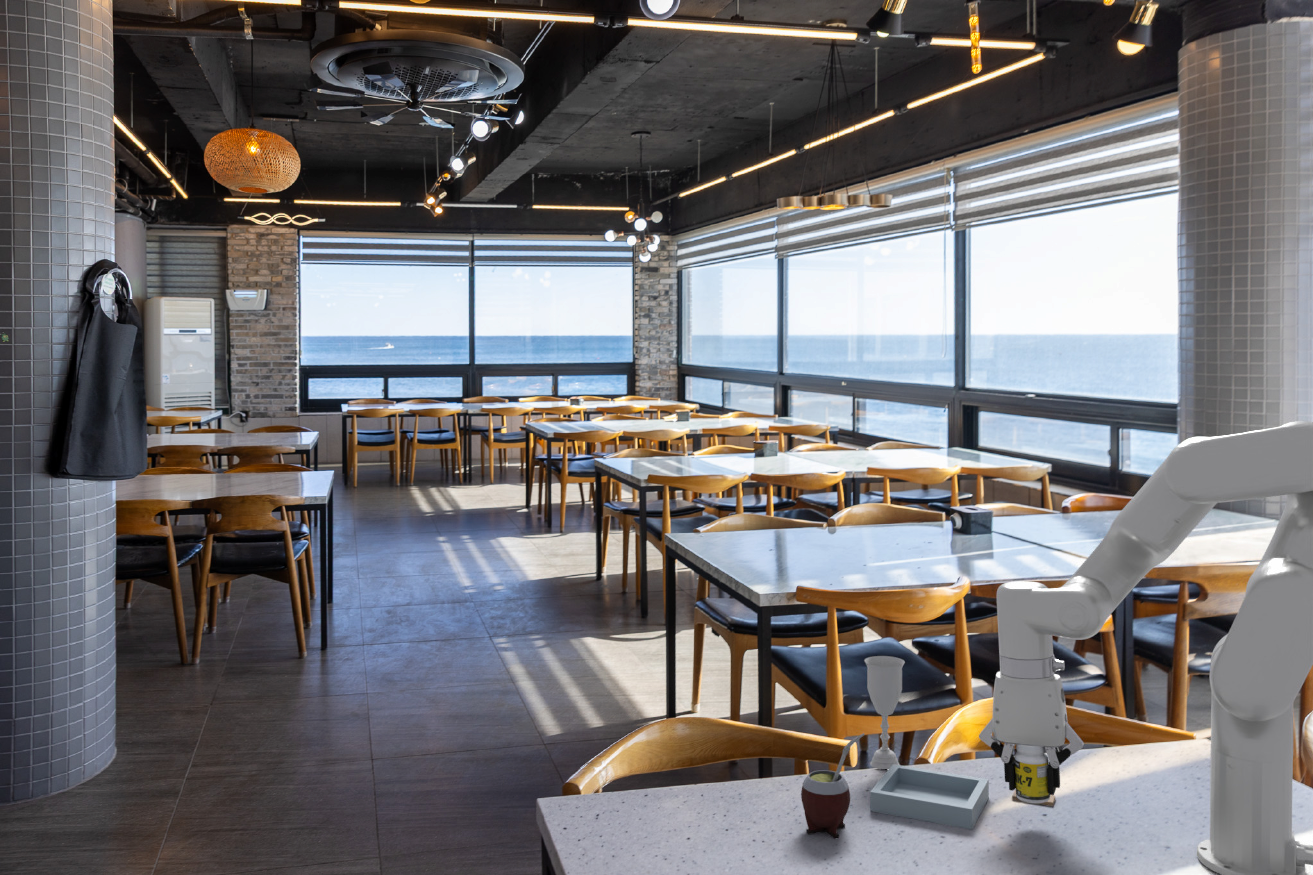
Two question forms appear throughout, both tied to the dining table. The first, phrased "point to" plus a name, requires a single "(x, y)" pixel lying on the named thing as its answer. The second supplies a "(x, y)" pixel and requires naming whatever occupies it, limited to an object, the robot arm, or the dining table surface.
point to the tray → (930, 796)
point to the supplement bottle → (1031, 774)
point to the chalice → (884, 700)
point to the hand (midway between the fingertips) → (1032, 788)
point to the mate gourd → (826, 798)
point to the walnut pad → (1048, 803)
